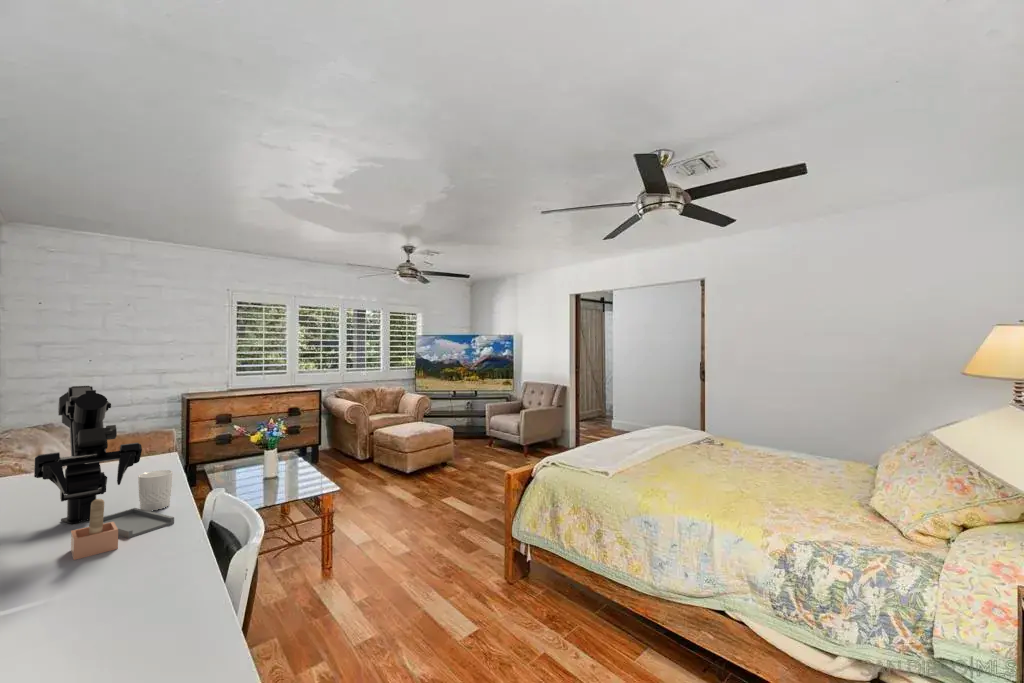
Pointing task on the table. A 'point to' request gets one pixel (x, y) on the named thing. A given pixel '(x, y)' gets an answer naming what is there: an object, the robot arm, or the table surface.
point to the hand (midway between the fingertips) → (93, 488)
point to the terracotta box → (94, 541)
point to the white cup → (155, 489)
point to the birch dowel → (96, 516)
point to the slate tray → (137, 521)
